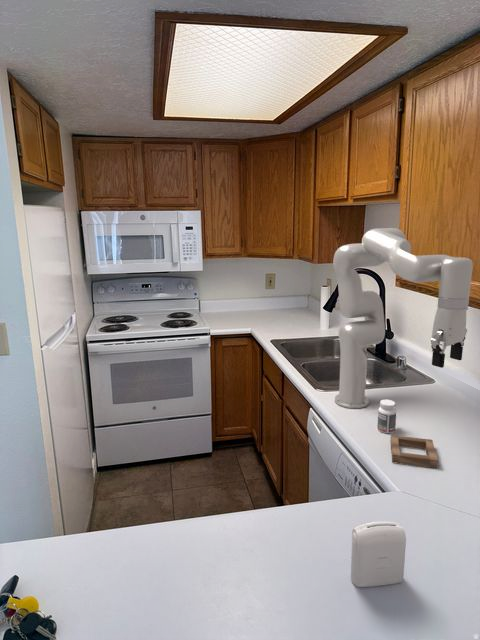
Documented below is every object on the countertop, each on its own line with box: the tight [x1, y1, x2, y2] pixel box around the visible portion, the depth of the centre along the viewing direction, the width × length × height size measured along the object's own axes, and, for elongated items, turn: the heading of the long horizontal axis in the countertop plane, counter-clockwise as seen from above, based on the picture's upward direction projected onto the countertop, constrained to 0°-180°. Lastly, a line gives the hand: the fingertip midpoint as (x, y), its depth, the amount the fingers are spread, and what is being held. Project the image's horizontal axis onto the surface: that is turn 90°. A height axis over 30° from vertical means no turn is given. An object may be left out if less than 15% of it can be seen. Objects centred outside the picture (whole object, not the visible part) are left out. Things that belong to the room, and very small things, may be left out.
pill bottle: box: [376, 399, 397, 434], centre depth 142 cm, size 6×6×10 cm
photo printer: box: [350, 521, 407, 588], centre depth 83 cm, size 10×4×12 cm, turn 96°
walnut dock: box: [389, 434, 439, 469], centre depth 127 cm, size 12×12×2 cm
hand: (446, 362), depth 121 cm, fingers open, 9 cm apart
